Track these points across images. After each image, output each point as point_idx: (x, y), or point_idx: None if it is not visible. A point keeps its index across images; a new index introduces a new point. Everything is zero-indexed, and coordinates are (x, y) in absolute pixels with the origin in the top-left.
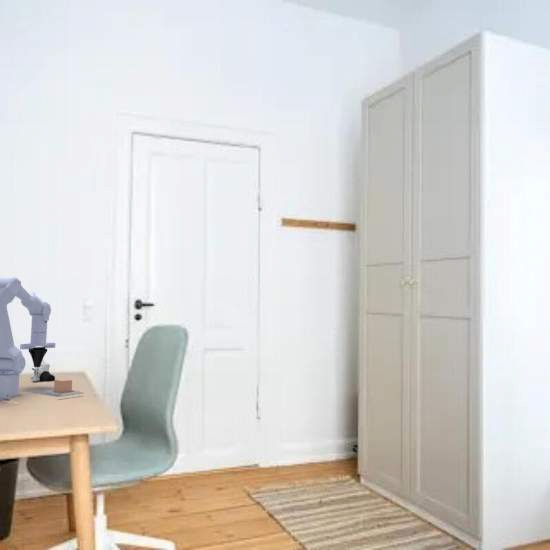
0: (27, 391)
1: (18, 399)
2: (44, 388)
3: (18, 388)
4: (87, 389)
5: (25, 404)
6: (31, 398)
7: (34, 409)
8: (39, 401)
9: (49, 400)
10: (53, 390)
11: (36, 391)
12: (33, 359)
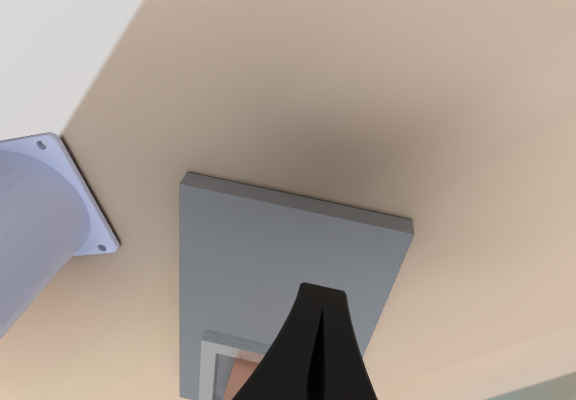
0: (187, 219)
1: (72, 259)
2: (354, 230)
3: (53, 277)
4: (562, 362)
5: (38, 340)
6: (135, 288)
7: (21, 396)
8: (116, 347)
9: (160, 363)
10: (250, 352)
11: (223, 260)
12: (274, 363)
